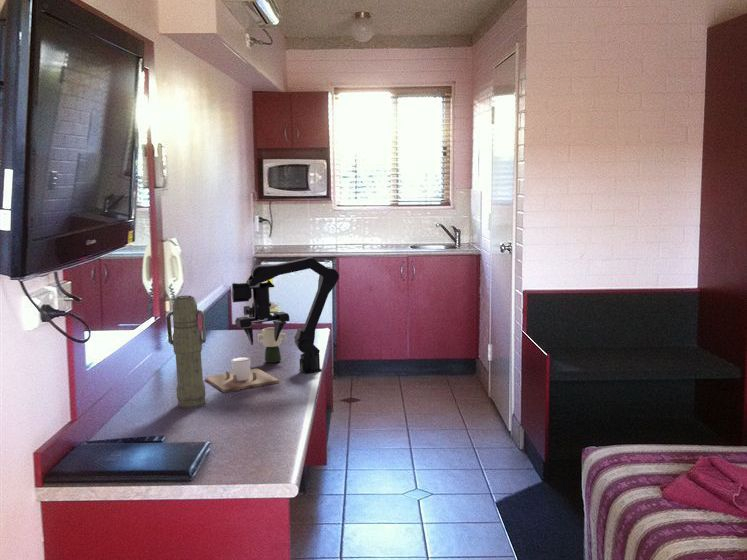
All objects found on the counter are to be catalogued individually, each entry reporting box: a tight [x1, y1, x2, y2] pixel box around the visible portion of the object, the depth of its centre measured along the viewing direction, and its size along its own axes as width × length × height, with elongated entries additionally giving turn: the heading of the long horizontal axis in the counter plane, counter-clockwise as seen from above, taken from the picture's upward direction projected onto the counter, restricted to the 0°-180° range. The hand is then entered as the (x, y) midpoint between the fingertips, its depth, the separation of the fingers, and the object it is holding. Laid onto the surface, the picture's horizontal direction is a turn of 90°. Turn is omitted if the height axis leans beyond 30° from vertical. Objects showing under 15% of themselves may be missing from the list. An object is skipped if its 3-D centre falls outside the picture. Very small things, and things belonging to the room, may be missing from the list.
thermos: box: [165, 295, 207, 409], centre depth 250 cm, size 9×12×35 cm
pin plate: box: [204, 367, 280, 393], centre depth 277 cm, size 20×20×4 cm
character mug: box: [257, 326, 287, 363], centre depth 302 cm, size 11×7×13 cm, turn 93°
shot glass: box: [230, 356, 251, 381], centre depth 277 cm, size 7×7×7 cm
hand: (263, 343), depth 282 cm, fingers open, 9 cm apart
